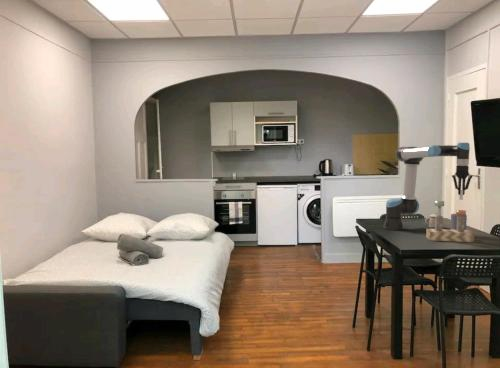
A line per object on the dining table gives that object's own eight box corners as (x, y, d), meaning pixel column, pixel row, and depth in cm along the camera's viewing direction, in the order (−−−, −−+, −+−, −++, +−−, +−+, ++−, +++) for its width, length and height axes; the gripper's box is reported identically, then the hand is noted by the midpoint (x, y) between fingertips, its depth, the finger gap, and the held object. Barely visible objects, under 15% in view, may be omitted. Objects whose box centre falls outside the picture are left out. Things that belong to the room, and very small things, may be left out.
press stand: (429, 240, 297) (430, 217, 295) (426, 237, 308) (426, 214, 307) (473, 242, 291) (474, 218, 290) (468, 238, 302) (469, 215, 301)
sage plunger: (435, 222, 298) (435, 201, 297) (433, 220, 304) (434, 200, 303) (444, 222, 296) (445, 201, 295) (442, 221, 302) (443, 200, 301)
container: (467, 236, 308) (468, 216, 307) (451, 236, 312) (452, 215, 310) (464, 234, 318) (465, 214, 317) (449, 233, 321) (450, 213, 320)
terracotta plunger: (456, 231, 295) (457, 211, 294) (454, 230, 301) (455, 209, 300) (466, 231, 294) (467, 211, 293) (464, 230, 300) (464, 210, 299)
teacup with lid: (439, 226, 352) (440, 212, 351) (442, 228, 343) (443, 213, 342) (424, 225, 354) (424, 211, 353) (426, 227, 345) (427, 213, 344)
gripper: (453, 165, 292) (452, 200, 294) (474, 165, 289) (472, 200, 291) (450, 164, 299) (449, 198, 301) (471, 165, 297) (469, 199, 299)
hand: (461, 199), depth 296 cm, fingers closed
